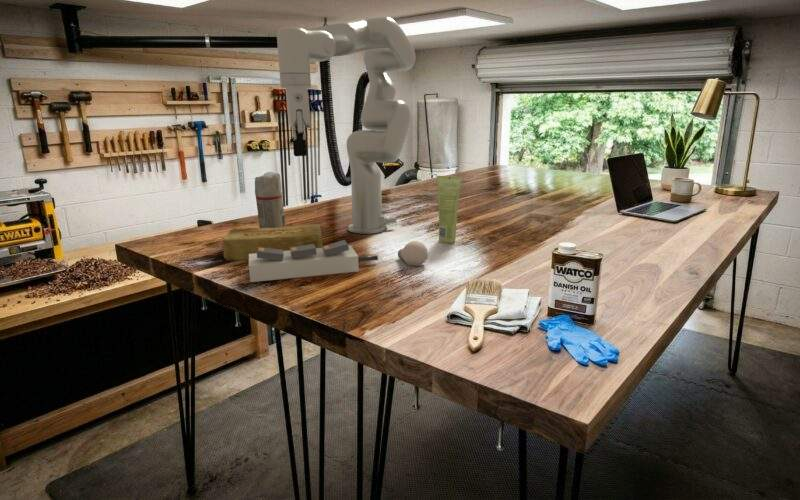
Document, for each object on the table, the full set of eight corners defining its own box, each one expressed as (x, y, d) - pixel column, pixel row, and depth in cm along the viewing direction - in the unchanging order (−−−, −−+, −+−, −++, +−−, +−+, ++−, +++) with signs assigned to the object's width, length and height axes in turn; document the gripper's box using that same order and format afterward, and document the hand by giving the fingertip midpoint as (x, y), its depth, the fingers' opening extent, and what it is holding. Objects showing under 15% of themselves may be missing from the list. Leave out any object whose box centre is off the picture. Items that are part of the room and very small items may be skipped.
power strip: (373, 257, 137) (372, 242, 136) (382, 269, 128) (381, 253, 127) (250, 268, 129) (248, 253, 128) (250, 282, 120) (248, 265, 118)
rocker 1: (281, 255, 125) (282, 249, 125) (282, 260, 122) (283, 254, 121) (256, 253, 124) (257, 246, 123) (256, 258, 120) (257, 251, 120)
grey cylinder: (280, 241, 154) (274, 175, 148) (255, 239, 155) (248, 174, 149) (291, 233, 161) (286, 171, 156) (267, 232, 163) (261, 170, 157)
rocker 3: (346, 245, 129) (344, 239, 129) (349, 249, 126) (347, 243, 125) (323, 252, 128) (321, 246, 128) (325, 256, 125) (323, 250, 124)
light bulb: (390, 241, 135) (410, 239, 126) (411, 242, 138) (433, 240, 129) (389, 265, 135) (410, 265, 125) (411, 266, 138) (432, 266, 128)
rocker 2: (314, 249, 127) (313, 243, 127) (316, 254, 124) (315, 247, 123) (290, 253, 126) (289, 247, 125) (291, 258, 122) (290, 251, 122)
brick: (230, 252, 147) (227, 228, 146) (322, 246, 152) (320, 223, 150) (223, 263, 134) (220, 237, 133) (323, 256, 139) (322, 231, 137)
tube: (451, 237, 155) (453, 174, 150) (460, 241, 151) (462, 176, 145) (435, 240, 153) (436, 175, 147) (444, 244, 149) (445, 178, 143)
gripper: (314, 80, 121) (318, 158, 126) (307, 82, 135) (311, 152, 140) (281, 80, 119) (287, 159, 124) (278, 82, 133) (283, 153, 138)
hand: (300, 155), depth 132 cm, fingers closed
